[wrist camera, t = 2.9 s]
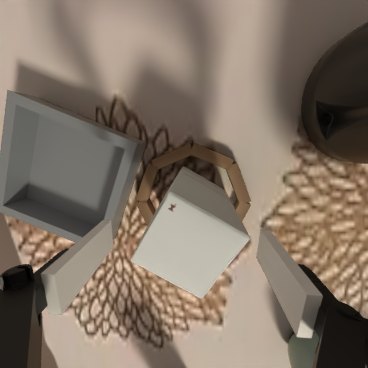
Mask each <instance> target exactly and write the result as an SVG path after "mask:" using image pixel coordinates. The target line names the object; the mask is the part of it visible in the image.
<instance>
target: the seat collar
mask: <svg viewBox="0 0 368 368" xmlns="http://www.w3.org/2000/svg"><path fill="white" fill-rule="evenodd" d="M191 155H193V156H195V157H198V158H200V159H202V160H205V161H207V162H210V163H212V164H215V165H217V166H219V167H222V168H224V169H226V171H227V174H228V176H229V179H230V182H231V184H232V187H233V189H234V192H235V195H236V197H237V201H236V203H235V205H234V208H235V210H236V212H237V214H238V216H239V217H240V219H241V221H243V219H244V217H245V215H246V213H247V211H248V209H249V208H250V206H251V205H250V203H249V202H250V201H251V199H250V197H249V194H248V191H247V188H246V186H245V183H244V180H243V178H242V175H241V172H240V169H239V167H238V164H237V163H236V162H233V161H234V159H232V158H229V157H227V156H225V155H222V154H220V153H217V152H215V151H212V150H210V149H208V148H205V147H203V146H200V145H198V144H195V143H194V144H193V147H191V144H190V143H189V144H187V145H184V146H182V147H180V148H178V149H175V150H173V151H171V152H168V153H166V154H164V155H162V156H159V157H157V158H155V159H153V160H151V161H152V162H150V163H148V165H147V168H146V171H145V174H144V177H143V180H142V183H141V185H140V188H139V191H138V194H137V197H136V200H138V202H137V203H136V204H137V206H138V208H139V210H140V212H141V214H142V216H143V218H144V220H145V222H146V224H147V226H148V225H149V223H150V221H151V219H152V217H153V215H154V214H155V209H154V207H153V205H152V203H151V201H150V199H149V197H150V194H151V191H152V189H153V186H154V183H155V180H156V178H157V175H158V172H159V169H160V168H163V167H165V166H167V165H170V164H172V163H174V162H177V161H179V160H181V159H184V158H186V157H188V156H191Z"/></svg>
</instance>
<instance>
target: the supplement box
mask: <svg viewBox="0 0 368 368" xmlns="http://www.w3.org/2000/svg"><path fill="white" fill-rule="evenodd" d="M249 240H250V236H249V235H248V233H247V231H246V229H245V227H244V225H243V223H242V221H241V219H240V217H239V216H238V214H237V212H236V210H235V208H234V206H233V204H232V202H231V200H230V199H229V197H228V195H227V193H226V191H225V190H224V189H222V188H221V187H219V186H217V185H216V184H214V183H212V182H211V181H209V180H207V179H205V178H204V177H202V176H200V175H198V174H197V173H195V172H193V171H192V170H190V169H188V168H186V167H185V166H183V167H182V168H181V170H180V171H179V173H178V175H177V176H176V178H175V179H174V181H173V183H172V184H171V186H170V188H169V189H168V191H167V193H166V195H165V196H164V198H163V200H162V201H161V203H160V205H159V207H158V208H157V210H156V212H155V214H154V215H153V217H152V219H151V221H150V223H149V225H148V226H147V228H146V230H145V232H144V234H143V236H142V238H141V240H140V242H139V244H138V246H137V248H136V250H135V252H134V254H133V256H132V258H131V262H133V263H135V264H137V265H139V266H141V267H143V268H145V269H147V270H148V271H150V272H152V273H154V274H156V275H158V276H160V277H161V278H163V279H165V280H167V281H169V282H171V283H173V284H175V285H176V286H178V287H180V288H182V289H184V290H186V291H187V292H189V293H191V294H193V295H195V296H197V297H198V298H200V299H202V298H203V297H204V296H205V294H206V293H207V292H208V291H209V289H210V288H211V287H212V285H213V284H214V283H215V282H216V280H217V279H218V278H219V276H220V275H221V274H222V273H223V271H224V270H225V269H226V267H227V266H228V265H229V264H230V263H231V261H232V260H233V259H234V258H235V257H236V255H237V254H238V253H239V252H240V250H241V249H242V248H243V247H244V246H245V244H246V243H247V242H248V241H249Z"/></svg>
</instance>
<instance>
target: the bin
mask: <svg viewBox="0 0 368 368" xmlns="http://www.w3.org/2000/svg"><path fill="white" fill-rule="evenodd" d="M146 144H147V142H144V141H142V140H139V139H137V138H134V137H132V136H129V135H127V134H125V133H122V132H120V131H117V130H115V129H112V128H110V127H108V126H105V125H103V124H100V123H98V122H95V121H93V120H90V119H88V118H86V117H83V116H81V115H78V114H76V113H73V112H71V111H69V110H66V109H64V108H61V107H59V106H56V105H54V104H51V103H49V102H47V101H44V100H42V99H39V98H36V97H32V96H29V95H25V94H21V93H17V92H13V91H9V90H7V99H6V107H5V116H4V125H3V134H2V142H1V151H0V212H1V213H3V214H6V215H8V216H11V217H13V218H16V219H18V220H21V221H23V222H26V223H28V224H31V225H33V226H36V227H38V228H41V229H43V230H46V231H48V232H51V233H53V234H56V235H58V236H61V237H63V238H66V239H68V240H71V241H73V242H76V243H77V242H78V241H79V240H80V239H82V238H83V237H84V236H85V235H86V234H87V233H89V232H90V231H91V230H92V229H93V228H94V227H96V226H97V225H98V224H99V223H100V222H101V221H102V220H110V221H111V224H112V237H113V240H114V239H115V238H116V235H117V232H118V229H119V226H120V223H121V220H122V217H123V214H124V211H125V208H126V205H127V202H128V199H129V196H130V193H131V190H132V186H133V183H134V180H135V177H136V174H137V171H138V168H139V165H140V162H141V159H142V156H143V153H144V150H145V147H146Z"/></svg>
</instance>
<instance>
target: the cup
mask: <svg viewBox="0 0 368 368" xmlns="http://www.w3.org/2000/svg"><path fill="white" fill-rule="evenodd" d="M318 340H319V337H318V335H317V333H316V332H314V331H313V335H312V338H302V337H296V335H295V334H293V335H292V337H291V338H290V340H289V343H288V355H289V360H290V364H291V368H312V367H313V362H314V358H315V351H316V347H317V344H318Z"/></svg>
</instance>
